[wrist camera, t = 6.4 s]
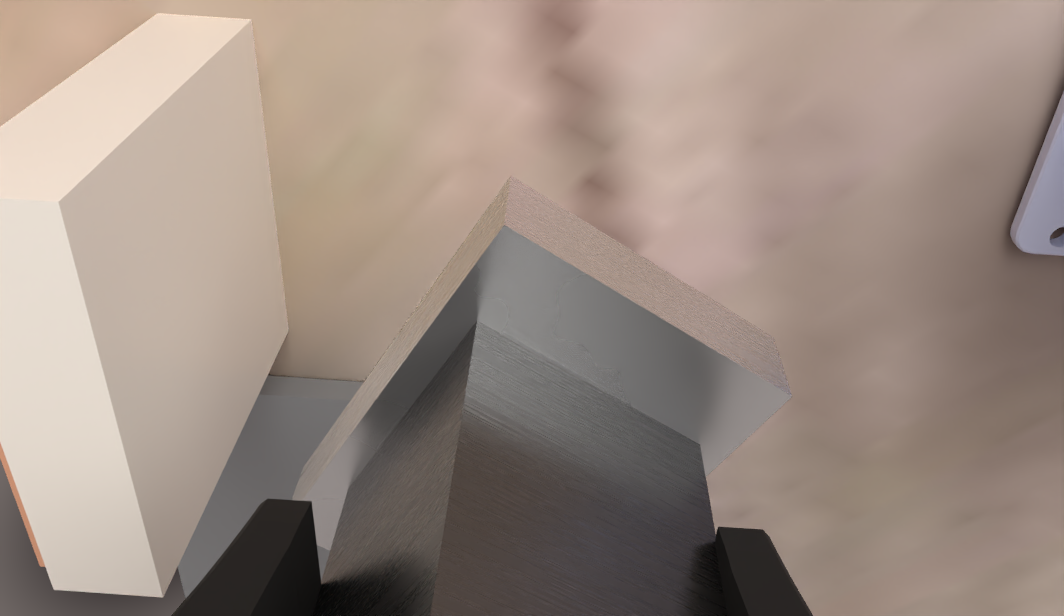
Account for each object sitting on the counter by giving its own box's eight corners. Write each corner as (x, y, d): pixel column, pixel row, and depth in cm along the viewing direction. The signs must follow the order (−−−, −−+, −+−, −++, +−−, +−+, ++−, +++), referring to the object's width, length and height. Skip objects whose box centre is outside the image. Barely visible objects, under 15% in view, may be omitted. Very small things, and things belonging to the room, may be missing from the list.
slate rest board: (554, 395, 24) (553, 414, 24) (535, 633, 30) (534, 654, 29) (145, 366, 24) (133, 385, 24) (201, 608, 30) (192, 629, 29)
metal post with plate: (772, 337, 15) (941, 868, 8) (533, 575, 18) (508, 1091, 11) (511, 175, 13) (445, 654, 7) (303, 467, 17) (120, 979, 10)
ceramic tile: (252, 19, 19) (58, 201, 12) (288, 329, 24) (163, 597, 17) (143, 12, 19) (-114, 190, 12) (201, 324, 24) (37, 588, 17)
